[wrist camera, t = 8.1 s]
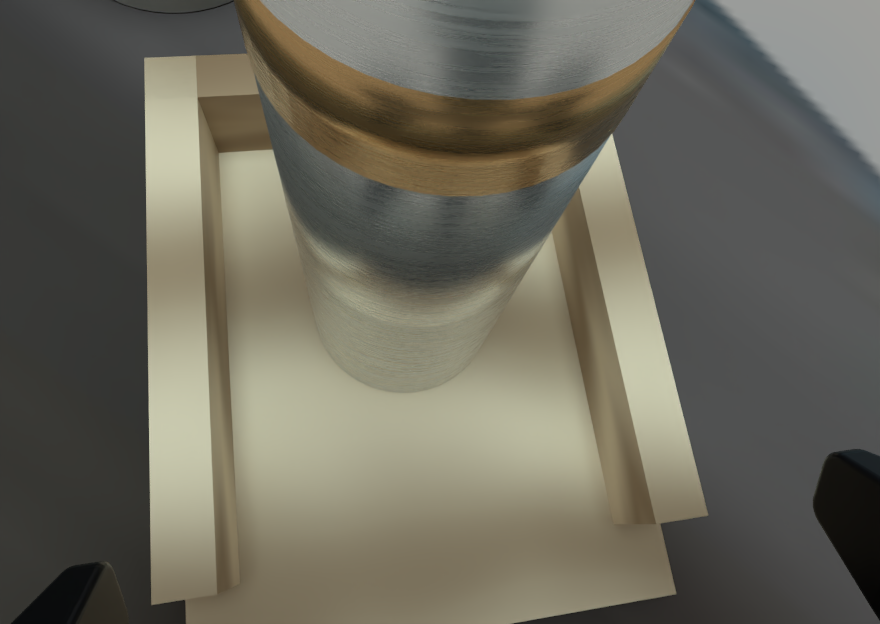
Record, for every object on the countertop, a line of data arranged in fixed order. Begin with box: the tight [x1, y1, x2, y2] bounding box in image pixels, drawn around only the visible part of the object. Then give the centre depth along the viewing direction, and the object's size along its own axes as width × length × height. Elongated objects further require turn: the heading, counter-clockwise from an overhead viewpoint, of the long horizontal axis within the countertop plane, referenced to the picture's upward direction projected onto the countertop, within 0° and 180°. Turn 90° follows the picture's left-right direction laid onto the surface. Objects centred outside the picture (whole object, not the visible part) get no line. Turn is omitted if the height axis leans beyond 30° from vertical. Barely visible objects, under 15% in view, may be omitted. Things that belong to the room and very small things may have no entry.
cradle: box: [145, 54, 708, 624], centre depth 16 cm, size 16×11×3 cm
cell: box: [234, 0, 695, 393], centre depth 11 cm, size 5×5×14 cm
